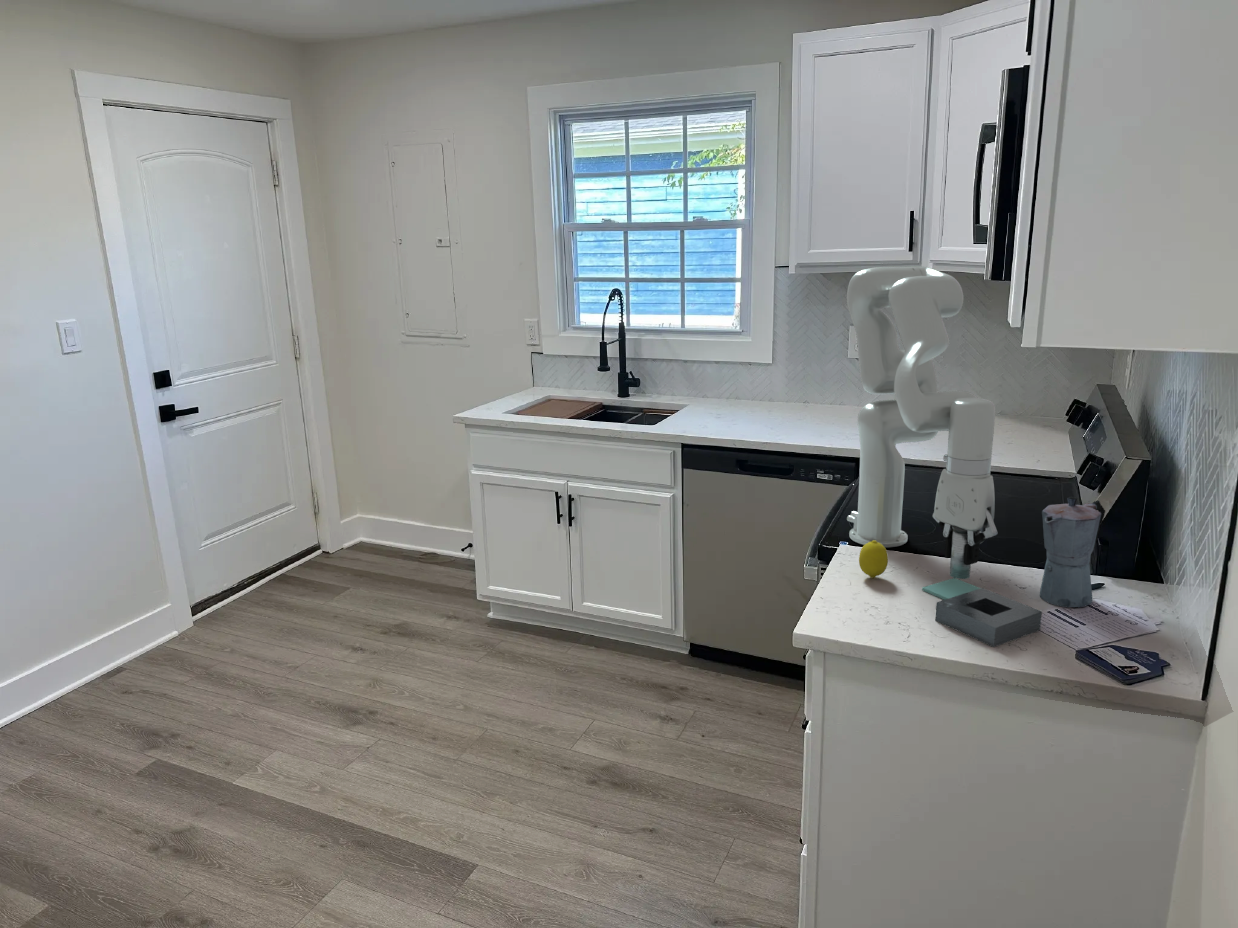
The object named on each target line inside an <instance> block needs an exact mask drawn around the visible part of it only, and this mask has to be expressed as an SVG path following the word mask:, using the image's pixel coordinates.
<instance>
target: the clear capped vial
mask: <svg viewBox="0 0 1238 928" xmlns="http://www.w3.org/2000/svg"><path fill="white" fill-rule="evenodd" d="M952 530H953V534H952V547H951V558H950V561H949V576H950V577H952V578H956V579H959V580H966V579H967V580H968V579H969V578H970V577H971V567H972V564H970V565H965V564H964V551H965V544H968V532H967V530H965V529H962V528H959V527H956V526H952Z"/></svg>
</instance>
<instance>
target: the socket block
mask: <svg viewBox="0 0 1238 928" xmlns="http://www.w3.org/2000/svg"><path fill="white" fill-rule="evenodd" d="M979 588H980V589H977V590H974V591H971V592H968V593H965V594H961V595H958V596H955V597H952V598H949V599H945V600H944V599H942V600H939V601H936V605H935V606H936V607H935V618H934V619H935V622H938V623H940V624H942V625H943V626H946V627H949V628H951V629H953V630H954V631H957V632H959V633H961V634H964V635H966V636H968V637H970V638H973V639H974V640H977V641H979V642H981V643H984V644H986V645H988V646H990V647H993V648H995V647H998V646H1001V645H1003V644H1006V643H1009V642H1011V641H1015V640H1017V639H1020V638H1023V637H1025V636H1028V635H1031V634H1033V633H1037V632H1039V631H1040V630H1041V624H1042V616H1043V611H1042V610H1040V609H1037V608H1035V607H1033V606H1030V605H1028V604H1027V605H1026V604H1024V603H1022V602H1019V601H1017V600H1015V599H1012V598H1009V597H1006V596H1004V595H1002V594H999V593H996V592H994V591H992V590H989V589H987V588H984V587H979Z"/></svg>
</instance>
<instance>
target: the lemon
mask: <svg viewBox="0 0 1238 928" xmlns="http://www.w3.org/2000/svg"><path fill="white" fill-rule="evenodd" d="M858 563H859V567H860V569H861V571H862V572H863V573H864V574H865V575H867V576H868V577H870V579H874V578H876V577H878V576H880V575H883V573H884V572H886V569H887V568H888V564H889V555H888V550H887V549H886V547H884V546H883V545H882V544H881V543H879V542H877V541H876V540H873V541H872V542H868V543H866V544H865V545H862V547H861V550H860V552H859V555H858Z"/></svg>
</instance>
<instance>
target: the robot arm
mask: <svg viewBox="0 0 1238 928" xmlns="http://www.w3.org/2000/svg"><path fill="white" fill-rule="evenodd" d="M846 292H847V293H846V302H847V304H846V305H847V309H848V312H849V316H850V318H851V322H852V325H853V327H854V328H853V329H854V331H855V335H856V345H857V357H858V365H859V375H860V381H861V382H860V383H861V386H862V388H863V390H864V391H865V392H867V393H868V394H871V395H894V396H895V399H887V400H886V399H885V400H876V401H872V402H871V401H870V402H869V403H866V404H865V405H864V406H863V407H861V409H860V410H859V412H858V414H857V432H858V437H859V454H860V455H859V480H858V481H859V482H858V497H857V498H858V499H857V501H858V502H857V511H856V510H853V511H851V513H850V515H847V517H846V520H847V522H850V523H853V528H851V529H850V530H849V533H848V534H849V538H850V539H851V540H852V541H853V542H855V543H856V544H859V545H862V546H864V545H865V544H866V543H868V542H872V541H873V540H876V541H877V542H879V543H881V544H882V545H883V546H884V547H885V548H895V547H901V546H903V545H904V544H906V543H907V542H908V534H907V532H906V531H904V530H902V519H903V518H902V517H903V516H902V515H903V501H904V486H905V473H906V472H905V471H906V466H905V465H906V464H905V459H904V457H903V456H902V454H901V453H900V452H899V451H898V449H897V447H896V445H899V444H906V443H920V442H927V441H931V440H932V439H934V438H935V437H937V435H938V433H939V432H948V439H947V450H946V451H947V453H946V454H944V455H943V458H942V459H943V461H944V462H946V466H945V467H946V468H943V469H942V471H941V473H940V476H939V480H938V484H937V488H936V494H935V499H934V500H935V502H934V508H933V510H934V511H933V513H932V518H933V519H934V520H935V522H936V523H938V525H939V527H940V528H941V530H942V531H943V532H942V535H943V537H944V538H945V546H944V558H946V559H951V547H952V534H953V530H952V526H956V527H959V528H962V529H965V530H967V532H968V544H965V551H964V564H965V565H970V564H971V565H973V564H976V563H978V562H979V558H980V557H979V556H980V546H981V544H982V543H983V542H984V541H986V540H987V539H988V538H992V537H994V536H997V535H998V530H997V527H996V525H995V522H994V519H995V505H996V504H995V501H996V500H995V484H994V477H993V475H991V469H992V468H991V467H992V455H993V444H994V433H995V422H996V421H995V419H996V405H995V403H994V402H993V401H992V400H990V399H987V398H982V397H978V396H976V395H975V394H974V393H972V392H970V391H968V390H967V391H966V390H951V391H949V390H948V391H947V390H946V391H939V390H938V389H939V388H938V383H937V382H938V379H937V372H936V366H935V363H934V361H933V360H934V358H936V357H937V358H938V356H940V355H941V354H942V353H944V352H945V351H946V350H947V348H948V347H949V345H950V337H949V334H948V332H947V328H946V325H945V322H944V320H943V318H951V317H954V316H956V315H957V314H959V312H960V311H961V310H962V307H963V305H964V293H963V288H962V286H961V284H960V282H959V281H958V280H957V279H956V278H955V277H954V276H953V275H951V274H948V273H945V272H942V271H939V270H936V269H934V268H931V267H928V266H920V265H918V266H917V265H916V266H915V265H914V266H881V267H880V266H877V267H871V268H870V267H869V268H866V269H862V270H860V271H857V272H856V273H855V274H854V275H852V277H851V279H850V280H849V283H848V285H847V291H846ZM882 308H890V310H891V312H892V315H893V318H894V322H895V323H893V321H892V319H891V318H890V317H889V315H888V314H887V313H885V312H884V311H883V310H882ZM896 327H897V328H896ZM898 334H899V338H900V341H901V344H902V347H903V349H900V347H899V342H898ZM984 528H985V531H984Z"/></svg>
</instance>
